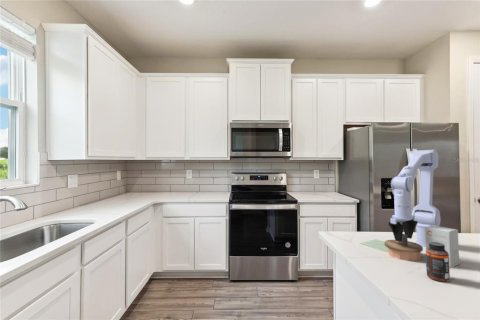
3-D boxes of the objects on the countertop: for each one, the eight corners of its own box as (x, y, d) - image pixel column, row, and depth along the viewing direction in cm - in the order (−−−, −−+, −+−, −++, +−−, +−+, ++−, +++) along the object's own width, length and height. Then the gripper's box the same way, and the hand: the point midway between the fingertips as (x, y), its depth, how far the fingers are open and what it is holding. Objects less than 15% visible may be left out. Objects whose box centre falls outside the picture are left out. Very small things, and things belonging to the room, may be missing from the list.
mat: (375, 240, 122) (375, 239, 122) (403, 247, 111) (403, 246, 111) (359, 244, 116) (359, 243, 116) (387, 252, 105) (386, 251, 105)
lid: (395, 242, 109) (395, 229, 110) (429, 250, 98) (428, 236, 98) (377, 247, 103) (377, 233, 103) (412, 256, 92) (411, 241, 92)
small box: (459, 264, 92) (458, 229, 92) (450, 267, 89) (449, 231, 89) (434, 257, 99) (433, 224, 99) (425, 260, 96) (424, 226, 96)
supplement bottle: (454, 283, 77) (453, 246, 78) (432, 281, 79) (431, 245, 79) (442, 274, 83) (441, 241, 84) (423, 273, 84) (421, 240, 85)
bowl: (397, 250, 108) (397, 241, 108) (425, 258, 98) (425, 248, 98) (383, 255, 102) (382, 245, 102) (411, 264, 93) (411, 253, 93)
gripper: (401, 203, 108) (402, 234, 107) (382, 206, 101) (383, 239, 100) (420, 205, 102) (421, 238, 101) (400, 208, 95) (401, 244, 94)
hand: (403, 239), depth 100 cm, fingers open, 7 cm apart
